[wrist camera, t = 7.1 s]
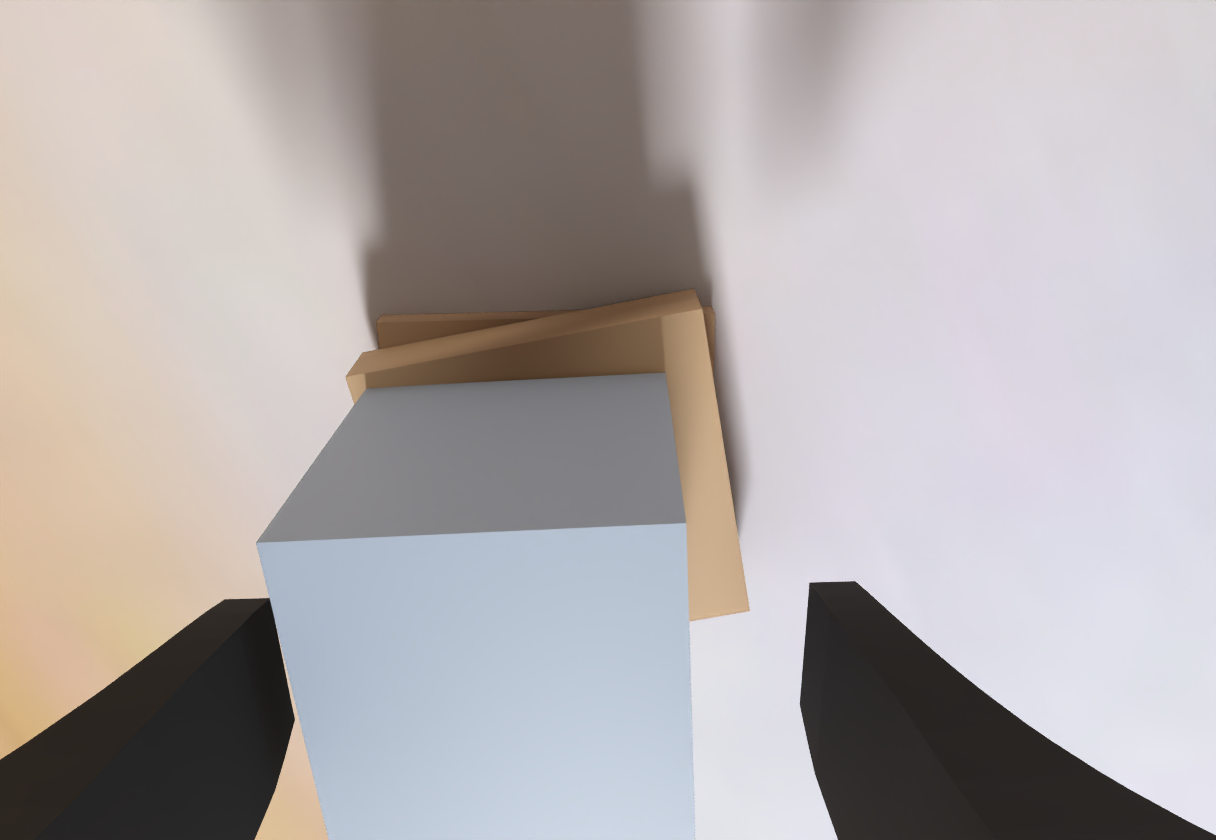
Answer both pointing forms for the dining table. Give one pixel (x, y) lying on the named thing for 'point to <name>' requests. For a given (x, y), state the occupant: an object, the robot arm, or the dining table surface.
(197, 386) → the dining table surface
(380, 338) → the slab bottom
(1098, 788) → the robot arm
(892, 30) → the dining table surface
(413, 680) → the cube
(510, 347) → the slab top
